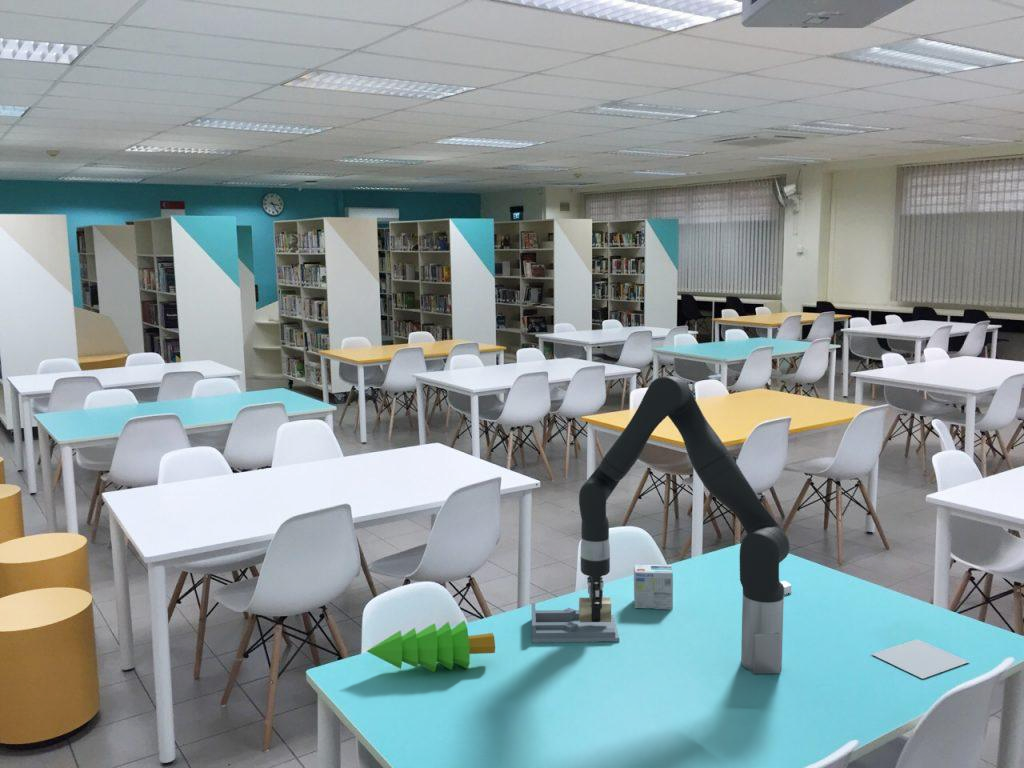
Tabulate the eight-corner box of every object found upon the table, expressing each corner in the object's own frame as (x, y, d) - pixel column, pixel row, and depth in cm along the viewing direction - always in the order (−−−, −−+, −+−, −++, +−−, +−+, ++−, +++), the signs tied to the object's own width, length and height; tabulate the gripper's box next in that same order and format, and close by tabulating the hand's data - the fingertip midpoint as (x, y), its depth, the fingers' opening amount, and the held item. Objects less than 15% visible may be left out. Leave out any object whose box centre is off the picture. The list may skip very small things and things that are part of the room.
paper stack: (839, 641, 210) (839, 638, 209) (906, 621, 221) (906, 618, 221) (922, 681, 189) (922, 678, 189) (991, 656, 200) (991, 653, 200)
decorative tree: (496, 618, 196) (366, 626, 190) (498, 669, 193) (367, 679, 187) (487, 618, 207) (365, 625, 201) (490, 666, 204) (365, 675, 198)
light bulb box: (671, 600, 236) (671, 564, 234) (673, 610, 229) (673, 572, 228) (633, 599, 237) (633, 563, 236) (634, 609, 230) (634, 571, 229)
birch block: (611, 622, 215) (611, 603, 214) (580, 622, 215) (580, 603, 215) (609, 615, 219) (609, 597, 218) (579, 615, 219) (579, 597, 219)
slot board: (619, 641, 211) (619, 624, 210) (532, 642, 211) (532, 625, 210) (613, 618, 224) (613, 602, 224) (531, 619, 225) (531, 603, 224)
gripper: (612, 564, 208) (612, 629, 210) (607, 545, 222) (606, 606, 224) (582, 564, 208) (582, 629, 210) (578, 545, 222) (579, 607, 224)
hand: (595, 617), depth 217 cm, fingers closed on birch block, 4 cm apart
